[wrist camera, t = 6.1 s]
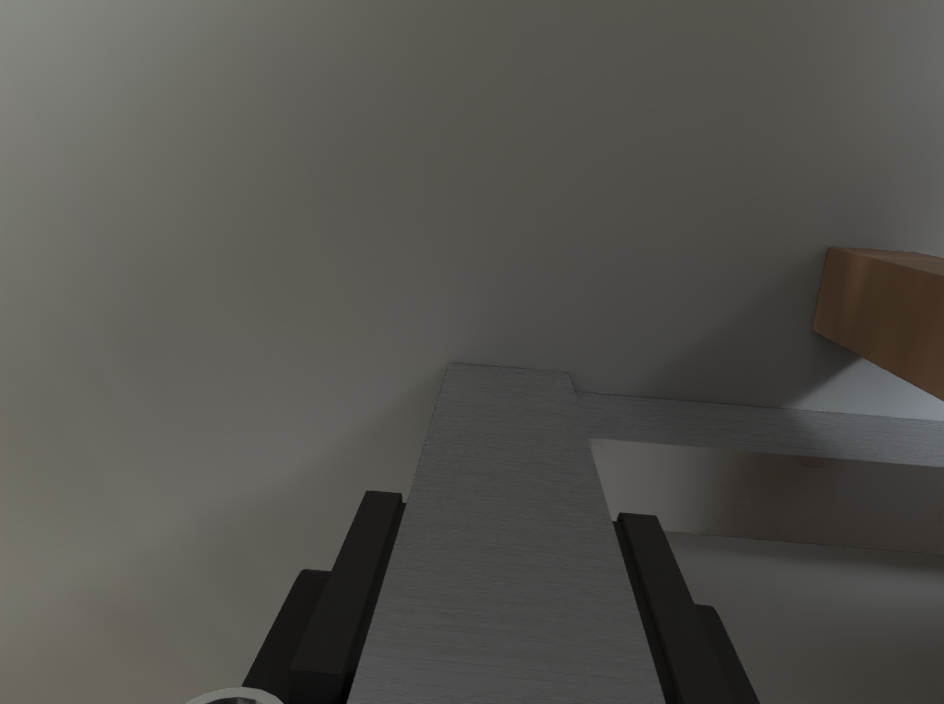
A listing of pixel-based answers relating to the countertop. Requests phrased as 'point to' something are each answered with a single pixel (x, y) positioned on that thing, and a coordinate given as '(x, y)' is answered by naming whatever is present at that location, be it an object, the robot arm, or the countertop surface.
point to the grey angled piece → (607, 527)
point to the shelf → (886, 311)
